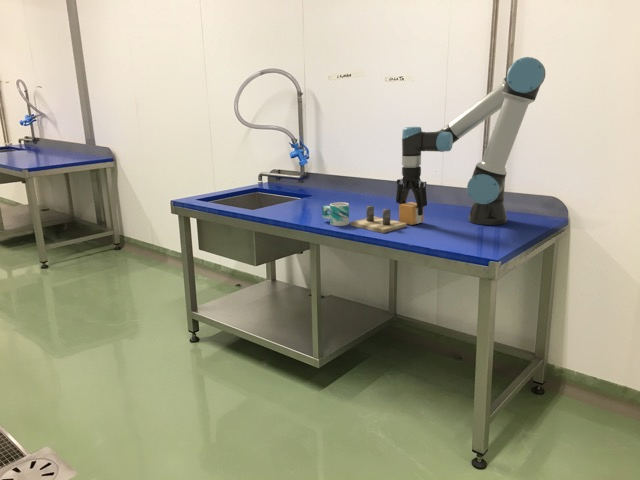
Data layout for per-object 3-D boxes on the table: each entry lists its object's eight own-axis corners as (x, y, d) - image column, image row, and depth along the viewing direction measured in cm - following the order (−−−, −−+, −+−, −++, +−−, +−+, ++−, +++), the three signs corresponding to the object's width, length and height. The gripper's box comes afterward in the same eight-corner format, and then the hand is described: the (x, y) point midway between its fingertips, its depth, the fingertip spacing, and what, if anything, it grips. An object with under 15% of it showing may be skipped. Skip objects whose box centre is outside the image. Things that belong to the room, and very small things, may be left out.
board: (406, 226, 215) (406, 208, 213) (382, 233, 207) (383, 214, 205) (374, 219, 228) (374, 202, 226) (350, 225, 220) (350, 207, 218)
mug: (341, 226, 218) (341, 206, 216) (318, 223, 225) (317, 203, 223) (352, 222, 225) (352, 203, 222) (329, 219, 232) (329, 200, 229)
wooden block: (423, 221, 221) (423, 204, 219) (412, 224, 216) (412, 206, 214) (410, 219, 226) (410, 201, 224) (399, 222, 221) (399, 204, 219)
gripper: (437, 166, 210) (436, 223, 216) (398, 163, 225) (398, 216, 231) (425, 169, 205) (424, 226, 211) (386, 165, 220) (386, 219, 226)
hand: (411, 221), depth 221 cm, fingers closed on wooden block, 7 cm apart
